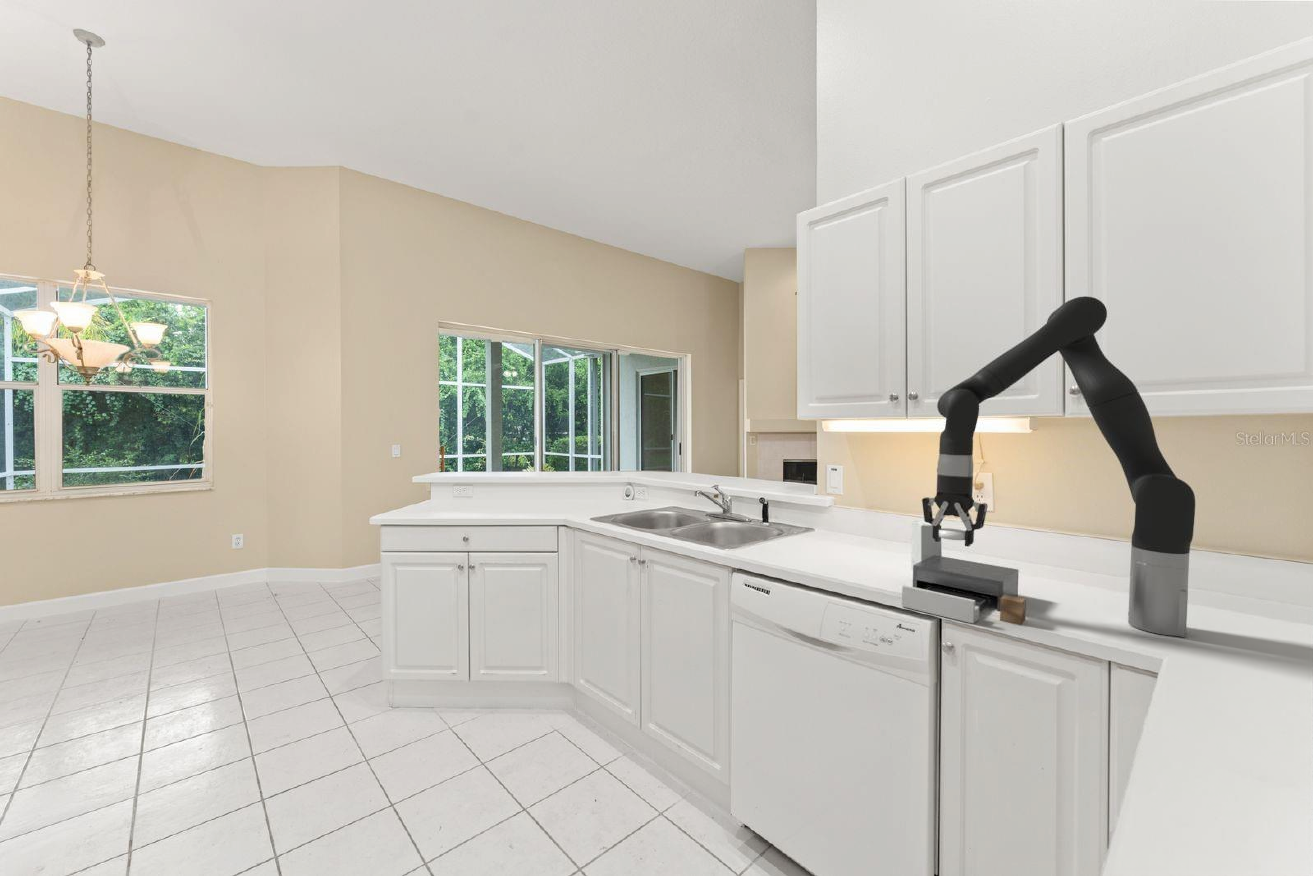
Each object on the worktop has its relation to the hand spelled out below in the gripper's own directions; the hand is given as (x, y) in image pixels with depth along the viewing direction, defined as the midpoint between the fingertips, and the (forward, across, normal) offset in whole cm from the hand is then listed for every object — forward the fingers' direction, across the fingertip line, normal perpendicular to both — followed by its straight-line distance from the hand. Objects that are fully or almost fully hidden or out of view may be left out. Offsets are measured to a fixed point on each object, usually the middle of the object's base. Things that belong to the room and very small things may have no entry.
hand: (952, 543), depth 131 cm
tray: (+15, 0, +2) cm, 15 cm away
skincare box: (+15, +14, -26) cm, 33 cm away
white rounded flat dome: (-1, 0, 0) cm, 1 cm away
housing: (+15, 0, -12) cm, 19 cm away
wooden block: (+15, -13, +1) cm, 20 cm away
